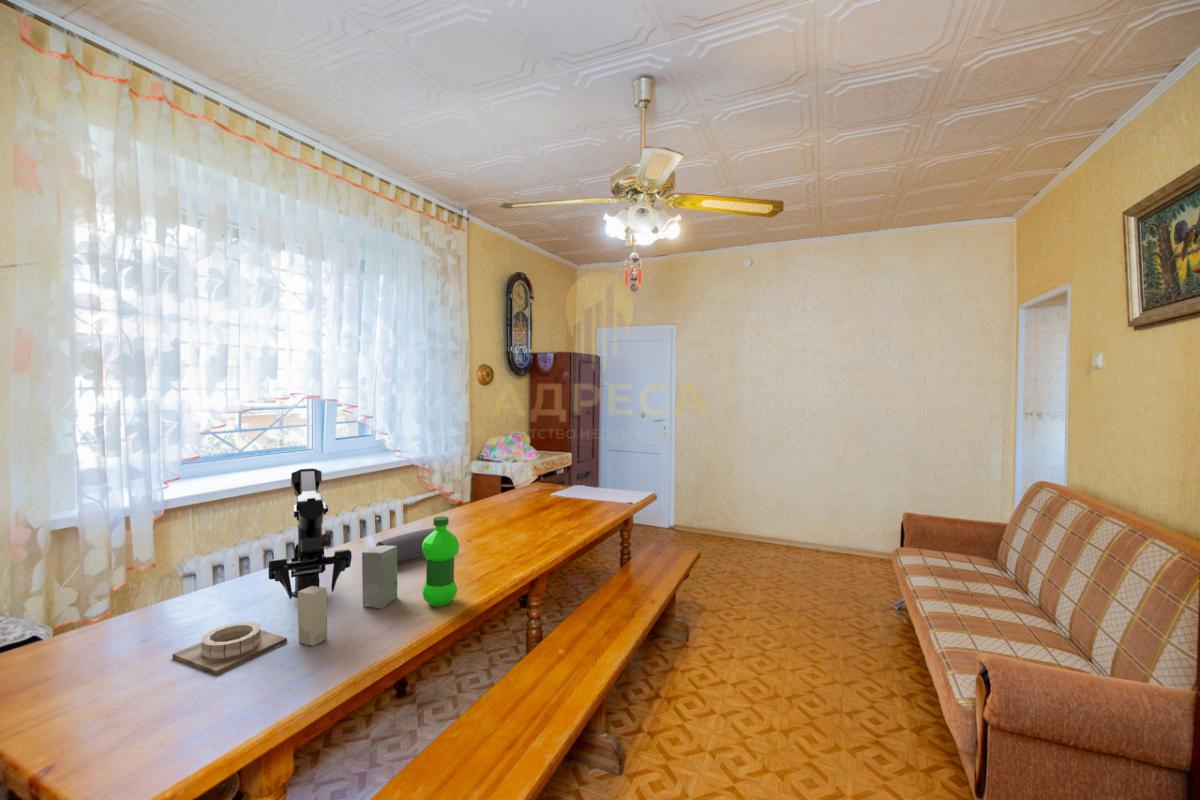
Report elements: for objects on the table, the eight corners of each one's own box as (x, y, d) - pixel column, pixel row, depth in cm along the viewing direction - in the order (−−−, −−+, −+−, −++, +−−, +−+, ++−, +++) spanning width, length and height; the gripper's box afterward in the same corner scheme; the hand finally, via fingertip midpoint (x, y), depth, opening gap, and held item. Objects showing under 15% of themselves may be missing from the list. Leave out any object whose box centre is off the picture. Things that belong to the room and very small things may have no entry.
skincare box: (382, 609, 144) (382, 553, 144) (359, 606, 146) (360, 551, 145) (399, 597, 153) (399, 545, 152) (377, 595, 154) (378, 543, 153)
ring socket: (172, 658, 117) (172, 641, 116) (244, 628, 131) (244, 613, 131) (216, 675, 110) (216, 657, 110) (286, 642, 125) (287, 625, 125)
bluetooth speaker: (428, 550, 197) (429, 524, 196) (444, 555, 191) (444, 528, 191) (373, 566, 178) (373, 537, 178) (388, 572, 173) (388, 542, 172)
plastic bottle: (438, 613, 142) (439, 524, 142) (413, 604, 148) (414, 518, 147) (465, 601, 151) (466, 517, 150) (440, 593, 156) (442, 512, 156)
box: (328, 638, 127) (328, 587, 127) (312, 647, 123) (313, 594, 123) (311, 635, 129) (312, 584, 128) (296, 643, 125) (296, 591, 124)
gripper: (268, 528, 128) (267, 586, 119) (351, 519, 138) (355, 572, 128) (269, 550, 135) (268, 607, 125) (347, 540, 144) (351, 592, 135)
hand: (312, 594), depth 128 cm, fingers open, 9 cm apart
